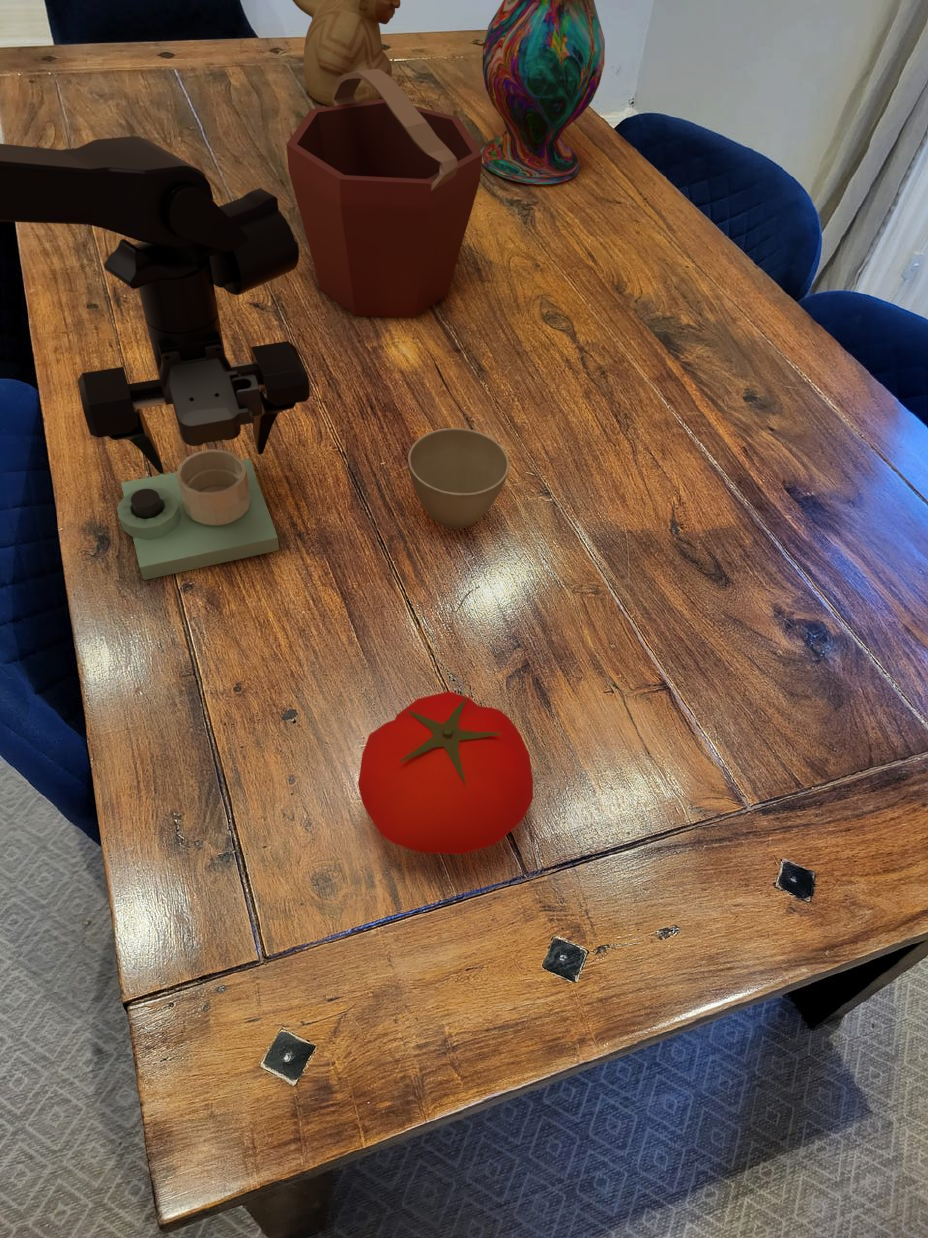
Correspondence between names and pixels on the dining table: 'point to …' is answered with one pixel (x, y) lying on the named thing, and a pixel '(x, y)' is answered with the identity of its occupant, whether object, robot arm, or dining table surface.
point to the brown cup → (457, 474)
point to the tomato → (446, 776)
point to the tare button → (146, 503)
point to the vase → (540, 84)
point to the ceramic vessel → (344, 44)
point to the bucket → (383, 197)
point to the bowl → (214, 487)
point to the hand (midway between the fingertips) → (211, 461)
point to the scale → (193, 530)
